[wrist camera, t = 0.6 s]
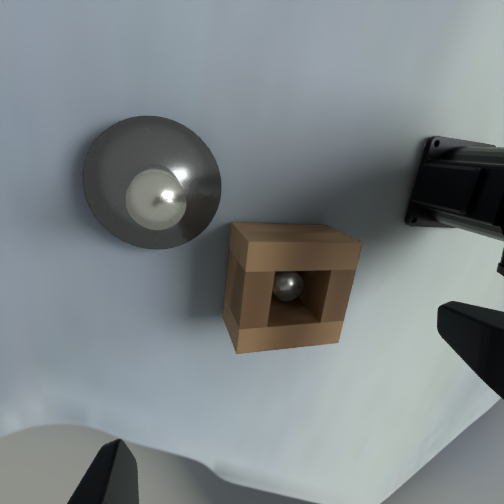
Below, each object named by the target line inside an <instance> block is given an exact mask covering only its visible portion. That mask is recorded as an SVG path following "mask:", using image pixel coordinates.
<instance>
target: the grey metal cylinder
mask: <svg viewBox="0 0 504 504" xmlns="http://www.w3.org/2000/svg"><path fill="white" fill-rule="evenodd" d="M302 289H303V280H302V278H301V276H300V275H298V274H297V273H296V272H295V271H275V275H274V282H273V289H272V291H273V293H274V294H275V295H276V297H277V298H278V299H280V300H282V301H291V300H293V299H295V298H296V297H298V296H299V294H300V293H301V292H302Z"/></svg>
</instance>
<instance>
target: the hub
mask: <svg viewBox="0 0 504 504" xmlns="http://www.w3.org/2000/svg"><path fill="white" fill-rule="evenodd" d="M83 186H84V192H85V196H86V199H87V202H88V204H89V206H90V209H91V210H92V212H93V214H94V215H95V217H96V218H97V220H98V221H99V222H100V223H101V224H102V225H103V226H104V227H105V228H106V229H107V230H108V231H109V232H110V233H111V234H113V235H114V236H115V237H117V238H119V239H121V240H122V241H124V242H126V243H129V244H131V245H134V246H137V247H141V248H147V249H167V248H173V247H176V246H179V245H182V244H184V243H187V242H189V241H190V240H192V239H194V238H195V237H197V236H198V235H199V234H200V233H201V232H202V231H203V230H204V229H205V228H206V227H207V226H208V225H209V223H210V222H211V221H212V219H213V217H214V215H215V213H216V211H217V209H218V205H219V202H220V196H221V178H220V173H219V169H218V166H217V163H216V161H215V158H214V156H213V155H212V153H211V151H210V150H209V148H208V147H207V145H206V144H205V143H204V142H203V141H202V140H201V138H200V137H198V136H197V135H196V134H195V133H194V132H193V131H191V130H190V129H188V128H187V127H185V126H183V125H181V124H179V123H177V122H175V121H172V120H169V119H167V118H162V117H157V116H138V117H133V118H128V119H125V120H123V121H120V122H118V123H116V124H114V125H112V126H111V127H109V128H108V129H107V130H105V131H104V132H103V133H102V134H101V135H100V136H99V137H98V138H97V139H96V141H95V142H94V143H93V145H92V146H91V148H90V150H89V152H88V154H87V157H86V160H85V164H84V170H83Z"/></svg>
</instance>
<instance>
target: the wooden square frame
mask: <svg viewBox="0 0 504 504" xmlns="http://www.w3.org/2000/svg"><path fill="white" fill-rule="evenodd" d="M361 247H362V243H361V242H359V241H357V240H355V239H353V238H351V237H349V236H347V235H346V234H344V233H342V232H340V231H338V230H336V229H334V228H332V227H330V226H328V225H306V224H276V223H246V222H231V230H230V241H229V253H228V265H227V276H226V288H225V299H224V311H223V319H224V322H225V324H226V327H227V330H228V332H229V335H230V338H231V340H232V343H233V346H234V348H235V351H236V354H241V353H250V352H259V351H269V350H278V349H287V348H296V347H305V346H314V345H323V344H332V343H338V342H339V338H340V334H341V329H342V325H343V321H344V317H345V313H346V309H347V305H348V301H349V296H350V292H351V288H352V284H353V280H354V276H355V272H356V267H357V263H358V259H359V255H360V251H361ZM275 271H298V272H297V274H298V275H300V276H301V278H302V280H303V289H302V292H301V293H300V294H299V296H298V297H296V298H295V299H293V300H291V301H282V300H280V299H278V298H277V297H276V295H275V294H272V289H273V282H274V275H275Z"/></svg>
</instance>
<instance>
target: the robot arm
mask: <svg viewBox="0 0 504 504" xmlns="http://www.w3.org/2000/svg"><path fill="white" fill-rule="evenodd" d="M434 142H435V145H434ZM412 218H413V220H412ZM405 223H406V224H407V225H410V226H421V227H449V228H460V229H463V230H467V231H470V232H473V233H477V234H480V235H484V236H487V237H490V238H494V239H497V240H501V241H504V148H502V147H496V146H495V145H490V144H484V143H478V142H472V141H466V140H460V139H453V138H447V137H441V136H432V137H430V138H429V139H428V141H427V144H426V147H425V151H424V154H423V158H422V161H421V165H420V168H419V172H418V175H417V179H416V182H415V186H414V189H413V193H412V196H411V200H410V203H409V207H408V210H407V214H406V217H405ZM497 272H498V273H500V274H501V275H503V276H504V249H503V253H502V257H501V262H500V263H498V267H497ZM437 329H438V332H439V334H440V335H441V337H442V338H443V339H444V340H445V341H446V342H447V343H448V344H449V345H450V346H451V347H452V349H453V350H454V351H455V352H456V353H457V354H458V355H459V356H460V357H461V358H462V359H463V360H464V361H465V362H466V363H467V365H468V366H469V367H470V368H471V369H472V370H473V371H474V372H475V373H476V374H477V375H478V376H479V377H480V378H481V379H482V380H483V381H484V382H485V383H486V384H487V385H488V386H489V387H490V388H491V389H492V390H493V391H495V392H496V393H497V394H498V395H499V396H500V397H501V398H502V399H504V312H502V311H497V310H493V309H488V308H484V307H479V306H474V305H470V304H465V303H461V302H456V301H450V302H448V303H445V304H443V305H441V306H439V308H438V314H437ZM138 493H139V492H138V470H137V463H136V459H135V457H134V456H133V454H132V453H131V451H130V450H129V448H128V447H127V445H126V444H125V442H124V441H123V440H122V439H116V440H114V441H112V442H109V443H107V444H105V445H103V446H102V447H101V449H100V450H99V452H98V453H97V455H96V457H95V458H94V460H93V462H92V463H91V465H90V467H89V468H88V470H87V472H86V473H85V475H84V476H83V478H82V480H81V481H80V483H79V485H78V486H77V488H76V490H75V491H74V493H73V495H72V496H71V498H70V500H69V501H68V503H67V504H139V494H138Z"/></svg>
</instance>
